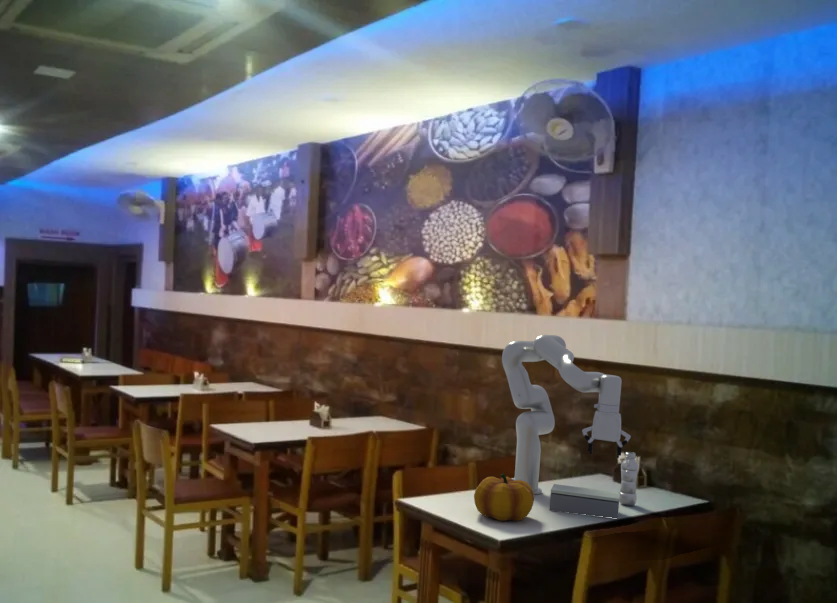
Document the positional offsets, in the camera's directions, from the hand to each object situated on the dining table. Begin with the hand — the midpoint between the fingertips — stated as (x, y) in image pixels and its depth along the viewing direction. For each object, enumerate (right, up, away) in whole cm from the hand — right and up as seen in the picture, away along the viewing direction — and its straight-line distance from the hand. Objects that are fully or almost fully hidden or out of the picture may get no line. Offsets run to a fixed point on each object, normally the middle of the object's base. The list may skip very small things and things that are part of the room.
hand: (604, 455), depth 284 cm
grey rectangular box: (-7, -20, 0) cm, 21 cm away
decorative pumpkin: (-39, -18, -17) cm, 46 cm away
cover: (-7, -14, 0) cm, 16 cm away
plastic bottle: (+12, -22, +14) cm, 29 cm away
